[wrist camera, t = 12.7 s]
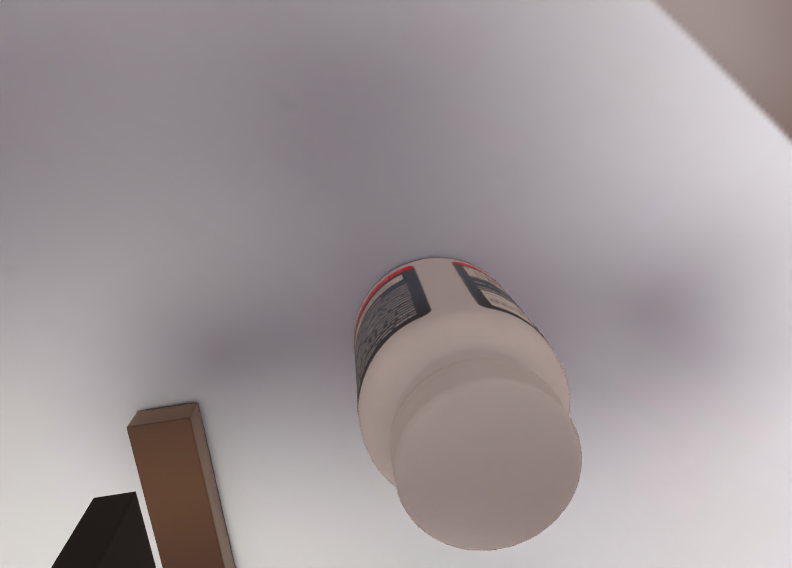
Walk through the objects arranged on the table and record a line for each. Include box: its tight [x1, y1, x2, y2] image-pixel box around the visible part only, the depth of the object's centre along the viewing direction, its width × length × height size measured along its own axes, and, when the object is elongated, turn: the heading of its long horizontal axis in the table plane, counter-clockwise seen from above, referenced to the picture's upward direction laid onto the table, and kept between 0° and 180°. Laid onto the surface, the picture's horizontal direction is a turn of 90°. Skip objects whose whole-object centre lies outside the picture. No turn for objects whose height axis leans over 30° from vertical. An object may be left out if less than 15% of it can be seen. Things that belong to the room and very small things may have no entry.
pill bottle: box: [354, 258, 582, 551], centre depth 19 cm, size 5×5×9 cm
